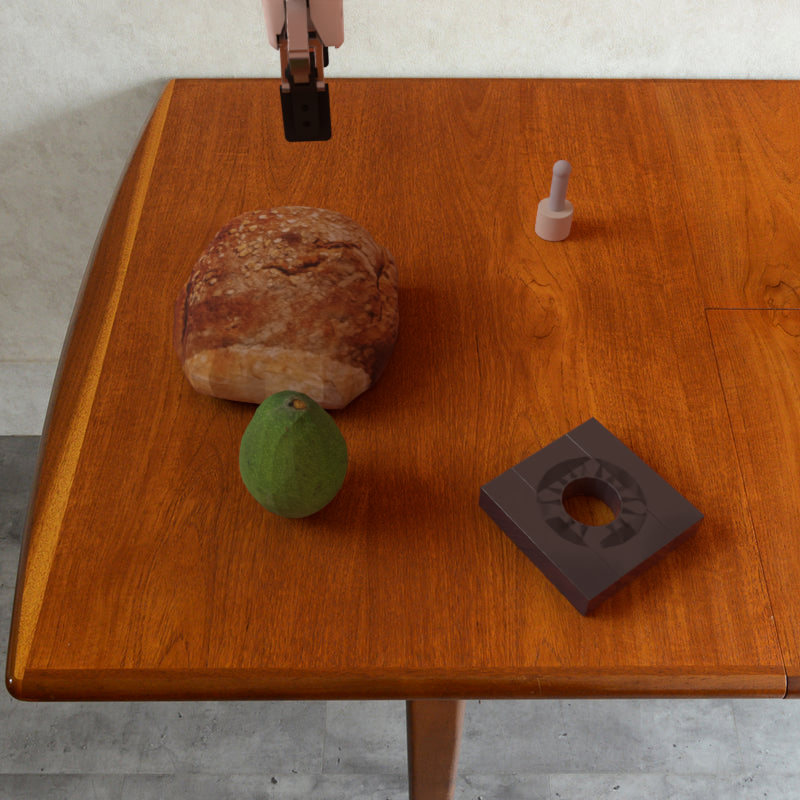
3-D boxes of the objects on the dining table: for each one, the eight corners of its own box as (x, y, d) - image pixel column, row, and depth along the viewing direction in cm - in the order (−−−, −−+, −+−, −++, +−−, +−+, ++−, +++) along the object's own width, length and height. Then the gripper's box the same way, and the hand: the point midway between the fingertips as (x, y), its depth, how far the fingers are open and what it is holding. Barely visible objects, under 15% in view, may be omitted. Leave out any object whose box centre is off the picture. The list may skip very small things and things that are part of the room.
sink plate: (588, 435, 75) (593, 416, 73) (697, 533, 69) (705, 515, 67) (477, 505, 71) (480, 486, 69) (583, 617, 64) (589, 600, 62)
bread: (404, 283, 88) (404, 199, 80) (391, 427, 76) (390, 344, 68) (198, 274, 89) (179, 190, 81) (153, 415, 77) (126, 332, 69)
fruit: (293, 441, 75) (279, 340, 66) (369, 486, 72) (365, 387, 63) (228, 506, 71) (202, 408, 61) (305, 557, 68) (291, 462, 58)
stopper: (553, 215, 95) (564, 146, 88) (576, 233, 93) (589, 164, 86) (527, 228, 93) (537, 159, 87) (551, 246, 91) (562, 177, 85)
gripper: (356, -112, 46) (365, 169, 59) (345, -215, 57) (355, 40, 70) (210, -108, 46) (251, 174, 59) (228, -213, 57) (260, 43, 70)
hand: (308, 101), depth 65 cm, fingers open, 9 cm apart
